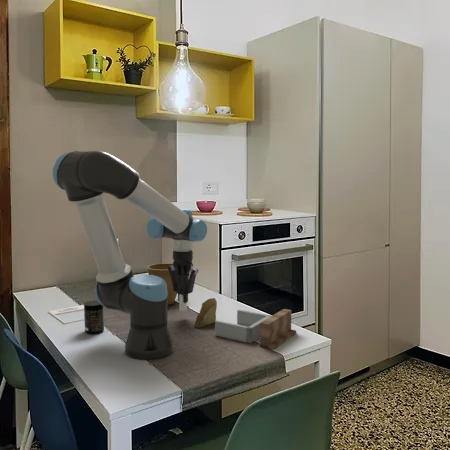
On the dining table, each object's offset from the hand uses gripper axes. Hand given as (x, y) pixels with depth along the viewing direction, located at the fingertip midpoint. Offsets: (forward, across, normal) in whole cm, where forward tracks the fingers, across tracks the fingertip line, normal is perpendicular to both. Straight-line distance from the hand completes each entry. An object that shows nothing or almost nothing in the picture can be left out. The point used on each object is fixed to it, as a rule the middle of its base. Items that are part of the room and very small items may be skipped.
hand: (183, 310), depth 181 cm
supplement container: (+4, +18, +28) cm, 33 cm away
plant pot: (+4, +20, -14) cm, 25 cm away
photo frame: (+4, +40, +19) cm, 44 cm away
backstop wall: (+3, -40, 0) cm, 40 cm away
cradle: (+3, -27, 0) cm, 27 cm away
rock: (+4, -10, 0) cm, 11 cm away
